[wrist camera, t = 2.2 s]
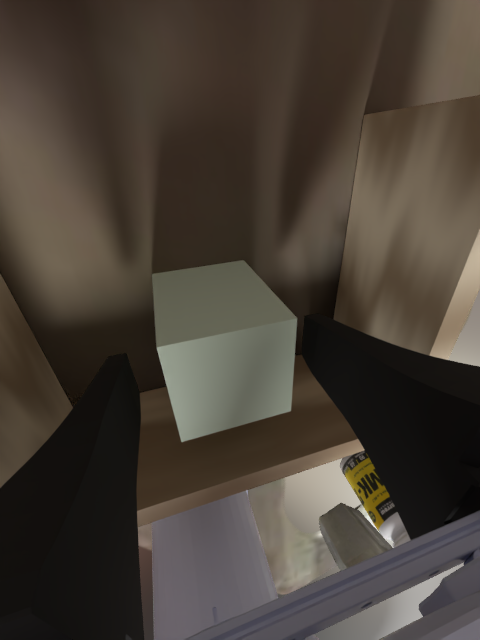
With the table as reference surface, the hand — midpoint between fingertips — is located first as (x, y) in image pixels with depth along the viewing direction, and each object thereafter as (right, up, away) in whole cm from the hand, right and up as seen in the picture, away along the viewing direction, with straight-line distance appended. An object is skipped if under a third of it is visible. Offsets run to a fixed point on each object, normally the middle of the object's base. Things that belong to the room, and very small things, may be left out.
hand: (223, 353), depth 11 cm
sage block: (-1, +2, +3) cm, 4 cm away
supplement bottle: (+13, -12, +17) cm, 25 cm away
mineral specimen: (+12, -22, +23) cm, 34 cm away
